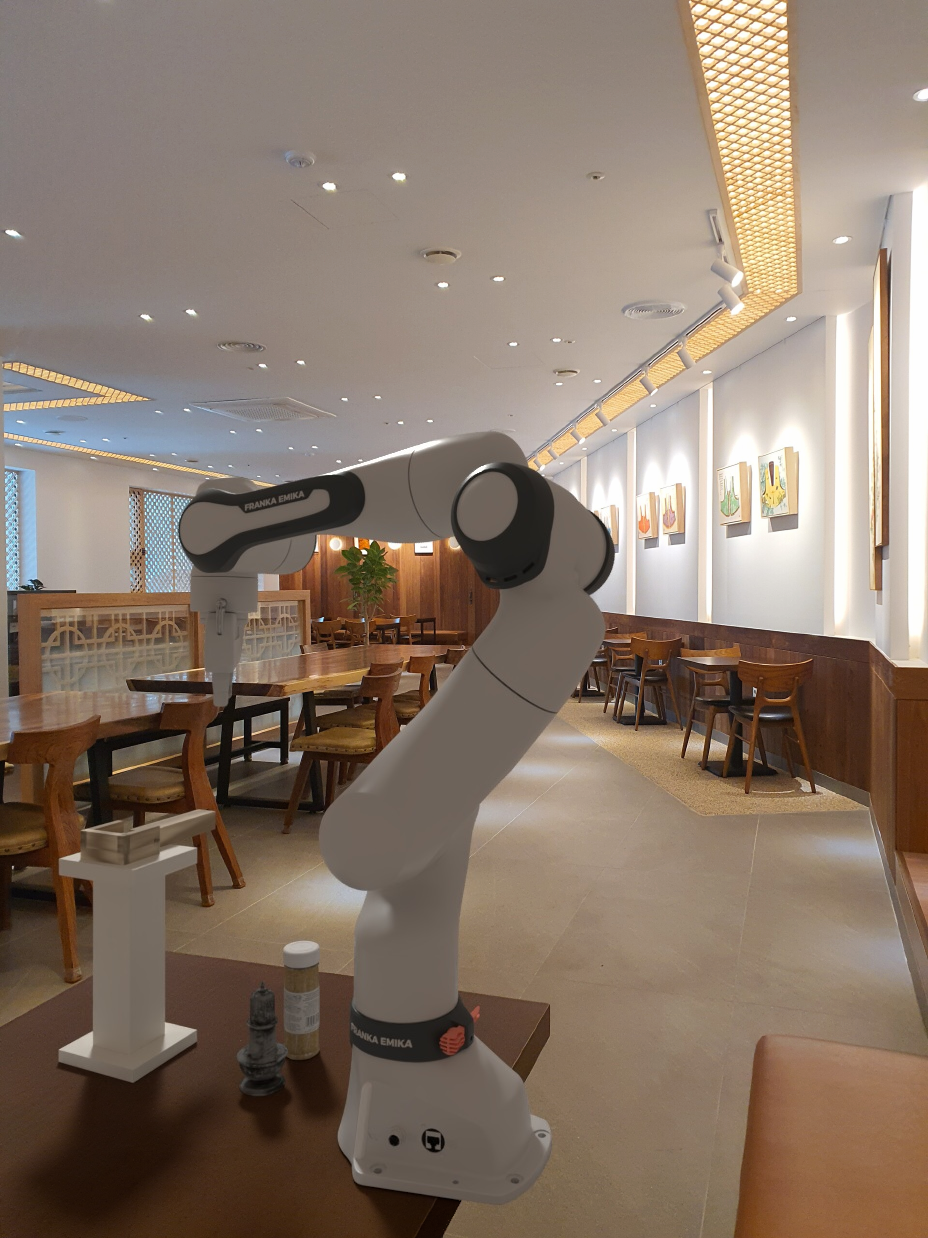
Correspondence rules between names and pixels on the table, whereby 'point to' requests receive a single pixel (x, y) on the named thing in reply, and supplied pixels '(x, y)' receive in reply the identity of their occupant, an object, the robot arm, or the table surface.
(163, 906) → the pedestal shelf
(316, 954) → the sprinkles bottle
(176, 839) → the scoop
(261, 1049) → the dark tall tiered piece
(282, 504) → the robot arm
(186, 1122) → the table surface
